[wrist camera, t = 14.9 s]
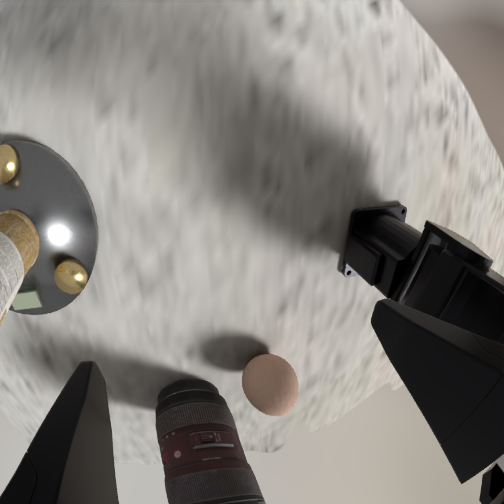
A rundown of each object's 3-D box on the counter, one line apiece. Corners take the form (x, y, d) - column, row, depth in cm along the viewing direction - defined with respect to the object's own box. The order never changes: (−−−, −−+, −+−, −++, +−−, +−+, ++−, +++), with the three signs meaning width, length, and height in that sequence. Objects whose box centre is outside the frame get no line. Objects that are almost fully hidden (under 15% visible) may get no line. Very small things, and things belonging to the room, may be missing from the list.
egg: (255, 381, 30) (277, 430, 25) (224, 365, 27) (244, 422, 22) (291, 353, 30) (320, 402, 24) (263, 334, 27) (291, 389, 21)
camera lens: (134, 395, 26) (155, 531, 14) (196, 363, 26) (241, 511, 14) (181, 422, 30) (211, 533, 18) (237, 395, 31) (284, 511, 18)
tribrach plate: (82, 119, 14) (75, 120, 13) (116, 296, 20) (115, 311, 19) (-58, 167, 11) (-71, 174, 9) (-11, 313, 17) (-17, 326, 15)
